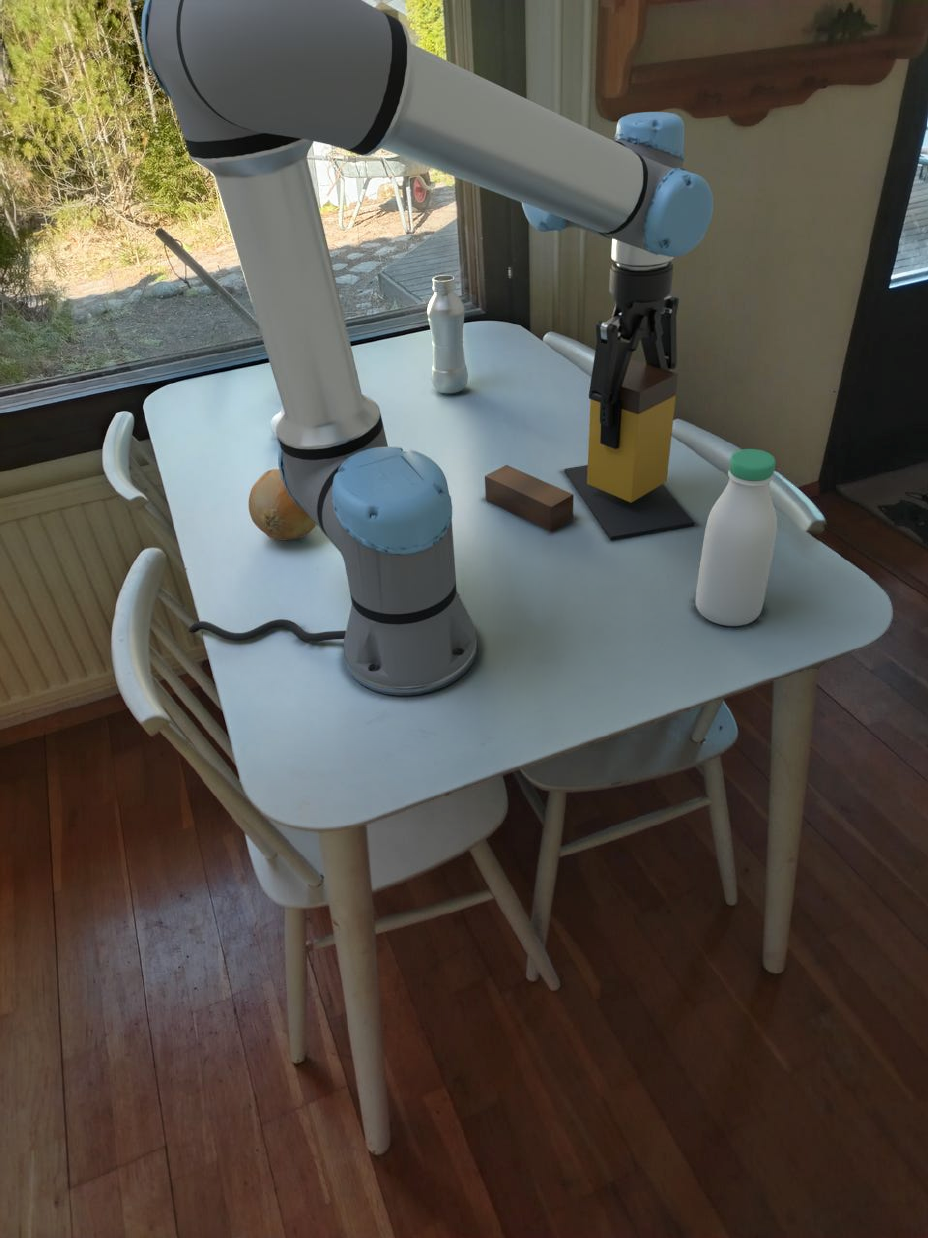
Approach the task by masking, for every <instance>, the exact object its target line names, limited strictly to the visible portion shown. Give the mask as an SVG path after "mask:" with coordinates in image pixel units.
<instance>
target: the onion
mask: <svg viewBox="0 0 928 1238" xmlns="http://www.w3.org/2000/svg"><path fill="white" fill-rule="evenodd" d="M248 512H249V515H250V518H251V521H252V523H254V525H255V526H256V527H257V528H258V529H259V530H260V531H261V532H262V533H263V534H265V535H266V536H267V537H269V538H271V539H274V540H277V541H292V540H296V539H298V540H299V539H301V538H302V537H304V536H307V535H308V534H310V533H311V532H312V531H313V529H315V527H316V526H317V525H316V523H315V522H314V521H313V520H312V519H311V518H310V516H309V515H308V514H307V513H306V512H305V511H304V510H303V509H301V508H300V507H299V506H298V505H297V504H296V503H295V502H294V501H293V499H292V498H291V497H290V495H289V493H288V492H287V490H286V488H285V485H284V483H283V481H282V478H281V475H280V471H279V468H273V469H269V470H267V471H265V472H264V473H263V474H262V475H261V476H260V477H259V478H258V479H257V480H256V482H255V483H254V484H253V486H252V487H251V489H250V492H249V496H248Z"/></svg>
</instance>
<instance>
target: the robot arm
mask: <svg viewBox="0 0 928 1238" xmlns="http://www.w3.org/2000/svg"><path fill="white" fill-rule="evenodd" d="M141 15H142V16H141V39H142V46H143V51H144V54H145V57H146V60H147V63H148V65H149V68H150V70H151V72H152V74H153V76H154V78H155V81H156V82H157V83H158V84H159V87H160V88H161V89H162V91H163V92H164V93H165V95H166V96H167V97H168V98H169V99H170V100H171V102H172V105H173V108H174V111H175V114H176V118H177V121H178V124H179V128H180V132H181V134H182V137H183V140H184V143H185V146H186V150H187V152H188V156H189V158H190V160H191V161H193V162H194V163H196V164H198V165H199V166H200V167H202V168H204V169H205V170H206V171H208V172H209V173H210V174H211V175H212V177H213V179H214V182H215V185H216V189H217V192H218V195H219V198H220V199H219V200H220V202H221V205H222V209H223V212H224V215H225V220H226V221H227V225H228V228H229V232H230V235H231V239H232V241H233V245H234V249H235V251H236V255H237V258H238V261H239V265H240V269H241V272H242V275H243V278H244V282H245V285H246V288H247V292H248V295H249V298H250V302H251V306H252V309H253V312H254V315H255V318H256V322H257V325H258V328H259V332H260V336H261V338H262V342H263V345H264V348H265V352H266V355H267V358H268V362H269V364H270V369H271V371H272V375H273V378H274V381H275V384H276V388H277V392H278V394H279V398H280V401H281V406H282V405H283V408H284V412H285V413H284V414H283V416H282V417H281V419H280V420H279V422H278V424H277V427H276V434H277V437H278V438H277V437H276V438H277V440H278V443H279V448H278V455H277V465H278V469H279V471H280V475H281V478H282V481H283V483H284V485H285V488H286V490H287V492H288V493H289V495H290V497H291V498H292V499H293V501H294V502H295V503H296V504H297V505H298V506H299V507H300V508H301V509H303V510H304V511H305V512H306V513H307V514H308V515H309V516H310V518H311V519H312V520H313V521H314V522H315V523H316V525H315V526H317V527H318V529H320V531H321V532H322V533H323V534H324V535H325V536H326V538H327V539H328V540H329V541H330V542H331V544H332V545H333V546H334V547H335V548H336V549H337V550H338V552H339V553H340V555H341V557H342V559H343V562H344V566H345V571H346V578H347V583H348V589H349V595H350V600H351V601H350V602H351V607H350V611H349V616H348V620H347V624H346V629H345V630H332V631H331V630H330V631H322V632H314V633H311V632H306V631H305V630H303V628H301V627H300V625H299V624H297V623H296V622H294V621H292V620H289V619H284V618H281V619H280V618H279V619H274V620H270V621H268V622H265V623H262V624H261V625H259V626H257V627H256V628H253V629H251V630H249V631H245V632H233V631H229V630H226V629H223V628H221V627H219V626H217V625H216V624H213V623H211V622H209V621H205V620H200V621H196V622H194V623H193V624H191V626H190V627H189V628H188V632H189V633H192V634H194V633H197V632H199V631H200V630H204V631H208V632H210V633H211V634H214V635H215V636H217V637H220V638H222V639H224V640H226V641H227V640H228V641H232V642H245V641H246V642H247V641H250V640H253V639H255V638H258V637H260V636H261V635H263V634H266V633H267V632H269V631H272V630H275V629H279V628H281V629H282V628H283V629H288V630H290V631H291V632H292V633H293V634H294V635H295V636H296V637H297V638H299V639H301V640H302V641H305V642H308V643H309V642H310V643H317V642H324V641H336V640H343V654H344V659H345V665H346V668H347V670H348V672H349V674H350V675H351V676H352V678H353V679H355V681H356V682H358V683H359V684H360V685H362V686H364V687H366V688H368V690H371V691H374V692H377V693H381V694H385V695H391V696H418V695H422V694H423V695H424V694H427V693H431V692H434V691H435V692H436V691H438V690H440V689H443V688H444V687H447V686H449V685H450V684H453V683H454V682H456V681H458V679H460V678H461V677H462V676H464V675H465V674H466V672H468V670H469V669H470V668H471V667H472V665H473V663H474V661H475V659H476V656H477V651H478V643H477V642H478V641H477V633H476V630H475V625H474V623H473V621H472V618H471V617H470V615H469V613H468V611H467V608H466V606H465V605H464V603H463V601H462V599H461V595H460V593H459V592H458V591H457V576H456V575H457V574H456V563H455V547H454V532H453V519H452V518H453V503H452V502H453V501H452V496H451V495H450V492H449V491H450V490H449V485H448V480H447V478H446V475H445V473H444V471H443V470H442V468H441V467H440V466H439V465H438V464H437V463H436V462H435V460H433V459H432V458H430V457H429V456H427V455H426V454H423V453H422V452H420V451H417V450H414V449H409V450H405V451H404V448H403V447H400V446H389V444H388V439H387V436H386V432H385V427H384V423H383V418H382V414H381V409H380V406H379V404H378V403H377V402H376V401H374V399H372V398H370V397H368V396H366V395H364V394H363V392H362V389H361V388H362V387H361V384H360V380H359V376H358V371H357V367H356V362H355V357H354V353H353V350H352V345H351V341H350V336H349V332H348V327H347V323H346V319H345V315H344V311H343V306H342V302H341V298H340V294H339V290H338V289H339V288H338V285H337V281H336V276H335V272H334V268H333V263H332V257H331V255H330V249H329V245H328V241H327V236H326V233H325V229H324V224H323V220H322V215H321V212H320V206H319V203H318V198H317V194H316V190H315V189H316V188H315V186H314V182H313V177H312V173H311V172H312V171H311V169H310V164H309V160H308V155H309V151H310V150H311V147H312V146H313V144H314V142H315V143H320V144H325V145H329V146H333V147H335V148H339V149H342V150H344V151H348V152H350V153H353V154H355V155H358V156H361V157H369V156H372V155H373V154H375V153H377V152H378V151H379V150H384V151H386V152H388V153H392V154H394V155H397V156H400V157H402V158H405V159H408V160H410V161H413V162H415V163H418V164H420V165H423V166H425V167H428V168H431V169H434V170H436V171H439V172H441V173H444V174H446V175H449V176H452V177H453V178H454V177H455V178H457V179H460V180H462V181H465V182H467V183H470V184H473V185H475V186H477V187H481V188H483V189H485V190H488V191H491V192H494V193H496V194H499V195H502V196H504V197H506V198H509V199H512V200H513V201H514V200H515V201H517V202H520V203H521V207H522V210H523V212H524V215H525V218H526V220H527V221H528V223H529V225H531V226H532V227H533V228H534V229H535V230H537V231H539V232H542V233H545V232H546V233H547V232H555V231H556V232H562V231H563V230H566V229H570V228H577V229H580V230H583V231H587V232H589V233H591V234H595V235H598V236H602V237H604V238H607V239H610V240H611V253H610V255H611V256H610V257H611V258H610V259H611V260H612V261H613V262H612V264H611V265H610V268H609V284H608V285H609V287H608V291H609V294H610V296H611V297H612V298H613V300H614V309H613V312H612V315H611V318H609V319H608V320H607V321H603V320H599V321H597V322H596V325H595V332H596V333H595V335H596V344H595V351H594V356H593V365H592V371H591V377H590V384H589V390H588V391H589V392H588V399H589V400H594V401H597V402H600V424H601V436H600V443H601V444H604V445H606V446H609V447H611V448H614V449H617V448H619V444H620V429H621V413H622V401H619V400H618V398H619V394H620V391H621V388H622V385H623V381H624V378H625V375H626V372H627V368H628V365H629V362H630V359H631V360H632V355H633V353H634V352H635V351H637V350H638V347H639V344H641V347H642V352H643V356H644V360H645V364H648V365H651V366H654V367H658V368H661V369H664V370H668V371H671V370H673V371H674V370H675V369H676V368H677V364H678V353H677V351H678V350H677V349H678V347H677V346H678V345H677V313H678V307H679V303H680V299H679V298H678V297H676V296H672V295H670V294H671V292H672V285H673V275H674V264H673V263H672V260H673V259H675V258H678V257H681V256H685V255H686V254H688V253H690V252H691V251H693V250H694V249H695V248H696V247H697V246H698V245H699V244H700V243H701V241H702V240H703V239H704V237H705V235H706V233H707V230H708V229H709V225H710V223H711V221H712V218H713V212H714V197H713V192H712V190H711V187H710V184H709V183H708V182H707V180H706V179H705V178H704V177H702V176H701V175H699V174H697V173H693V172H690V171H688V170H687V169H685V168H683V167H684V161H685V123H684V120H683V119H682V117H681V116H680V115H678V114H676V113H672V112H668V111H667V112H665V111H664V112H663V111H645V112H644V111H643V112H635V113H630V114H627V115H625V116H622V117H620V118H619V120H618V121H617V124H616V131H615V134H614V140H613V139H611V138H608V137H606V136H605V135H602V134H600V133H597V132H596V131H594V130H591V129H589V128H587V127H586V126H583V125H581V124H580V123H578V122H576V121H573V120H571V119H569V118H567V117H565V116H563V115H560V114H558V113H557V112H554V111H553V110H551V109H548V108H547V107H545V106H542V105H540V104H538V103H536V102H534V101H531V100H529V99H527V98H526V97H523V96H521V95H519V94H517V93H515V92H513V91H511V90H509V89H506V88H504V87H502V86H501V85H498V84H496V83H495V82H493V81H490V80H489V79H486V78H484V77H482V76H480V75H478V74H476V73H473V72H472V71H469V70H467V69H465V68H464V67H461V66H459V65H457V64H455V63H453V62H451V61H449V60H447V59H445V58H442V57H441V56H438V55H437V54H434V53H432V52H430V51H428V50H426V49H424V48H422V47H420V46H418V45H416V44H413V43H412V42H411V38H410V36H409V32H408V29H407V27H406V25H405V24H404V23H403V21H401V20H400V19H399V18H397V17H394V16H391V15H390V14H389V13H386V12H384V11H382V10H380V9H379V8H377V7H376V6H373V5H372V4H370V3H368V2H366V1H364V0H145V2H144V6H143V9H142V14H141ZM621 339H622V340H621ZM623 340H625V341H623ZM627 341H628V342H627ZM640 342H641V343H640ZM610 392H611V393H610Z"/></svg>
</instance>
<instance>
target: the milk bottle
mask: <svg viewBox="0 0 928 1238" xmlns="http://www.w3.org/2000/svg"><path fill="white" fill-rule="evenodd" d="M728 465H729V466H728V470H727V471H728V472H727V476H728V477H729V480H728V482H727V484H726V486H725V488H724V490H723V492H722V493H721V495H720V496H719V497H718V499H717V500H716V502H715V503H714V504H713V506H712V508H711V510H710V512H709V514H708V517H707V521H706V525H705V530H704V535H703V541H702V548H701V555H700V564H699V567H698V568H699V569H698V574H697V575H698V576H697V583H696V592H695V600H694V603H695V607H696V609H697V611H698V613H699V614H700V615H701V616H702V617H703V618H705V620H708V621H709V622H712V623H713V624H714V623H715V624H717V625H721V626H727V627H739V626H745V625H748V624H750V623H752V622H754V621H755V620H756V619H757V618H758V617H759V616H760V615H761V613H762V610H763V606H764V602H765V598H766V593H767V588H768V583H769V577H770V572H771V568H772V562H773V556H774V552H775V546H776V541H777V540H776V539H777V532H778V516H777V512H776V509H775V505H774V502H773V500H772V496H771V490H770V483H771V482H772V480H773V479H774V473H775V469H776V459H775V457H774V455H772V454H771V453H770V452H768V451H765V450H762V449H756V448H743V449H739V450H736V451H735V452H733V453H732V455H731V456H730V457H729V463H728Z"/></svg>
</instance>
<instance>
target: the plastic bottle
mask: <svg viewBox="0 0 928 1238" xmlns="http://www.w3.org/2000/svg"><path fill="white" fill-rule="evenodd" d="M456 287H457V286H456V283H455V276H454V275H450V274H440V275H436V276H433V278H432V291H433V292H434V293H433V295H432V297H431V299H430V300H429V302H428V304H427V309H426V314H427V319H428V325H429V330H430V334H431V341H432V367H431V368H432V369H431V382H432V386H433V388H434V389H435V390H436V391H437V392H438V393H442V394H455V393H459V392H461V391H463V390H464V389H466V386H467V385H468V381H469V371H468V368H467V364H466V357H465V352H464V350H465V349H464V325H465V314H466V313H465V311H466V308H465V305H464V302H463V301H462V299H461V298H460V296H459V295H458V294H457V293H456V292H455V290H456V289H457V288H456Z"/></svg>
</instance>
